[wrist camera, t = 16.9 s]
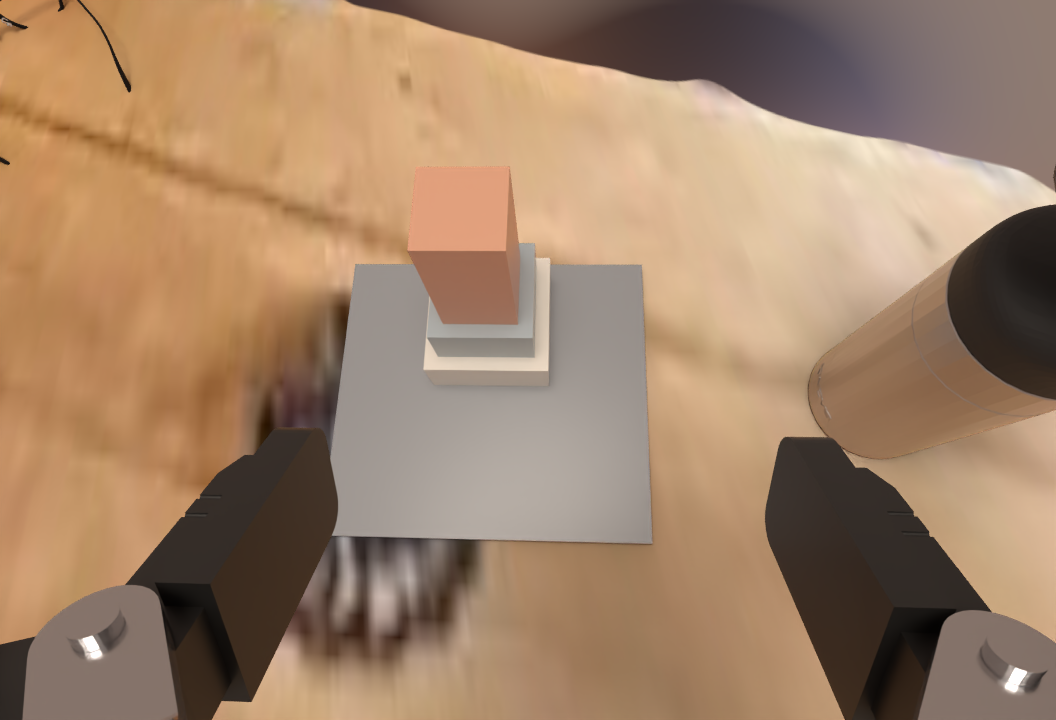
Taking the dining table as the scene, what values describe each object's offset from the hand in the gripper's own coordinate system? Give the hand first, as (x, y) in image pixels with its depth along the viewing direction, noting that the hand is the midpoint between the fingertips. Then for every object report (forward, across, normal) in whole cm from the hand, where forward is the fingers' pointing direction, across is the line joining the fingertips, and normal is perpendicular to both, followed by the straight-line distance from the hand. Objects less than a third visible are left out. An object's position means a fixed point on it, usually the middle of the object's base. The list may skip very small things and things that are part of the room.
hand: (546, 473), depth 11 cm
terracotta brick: (+29, +5, +7) cm, 31 cm away
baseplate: (+32, +5, +17) cm, 37 cm away
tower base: (+35, +5, +13) cm, 38 cm away
